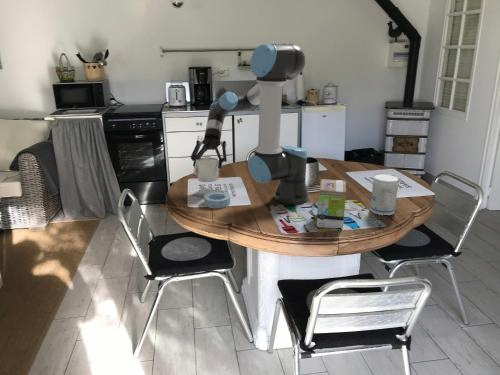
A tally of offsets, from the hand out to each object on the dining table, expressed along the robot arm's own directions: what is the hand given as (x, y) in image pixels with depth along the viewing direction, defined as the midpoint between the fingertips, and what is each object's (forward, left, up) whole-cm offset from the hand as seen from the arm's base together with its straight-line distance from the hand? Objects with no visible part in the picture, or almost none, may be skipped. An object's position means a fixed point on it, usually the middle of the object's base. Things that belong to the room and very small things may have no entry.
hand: (205, 173), depth 183 cm
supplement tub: (-74, -14, -11) cm, 76 cm away
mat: (+1, -3, -11) cm, 11 cm away
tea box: (-57, +4, -11) cm, 58 cm away
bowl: (-9, +7, -11) cm, 16 cm away
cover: (+1, -3, -3) cm, 5 cm away
